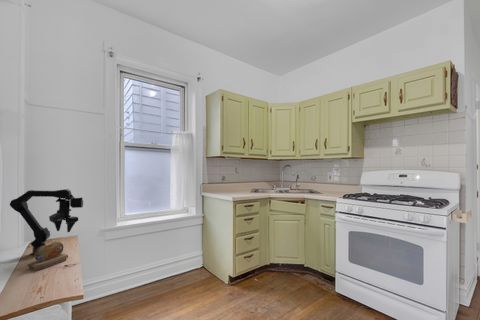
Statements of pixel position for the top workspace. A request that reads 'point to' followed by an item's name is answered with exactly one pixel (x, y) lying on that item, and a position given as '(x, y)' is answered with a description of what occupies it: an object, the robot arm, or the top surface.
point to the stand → (46, 262)
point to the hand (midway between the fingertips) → (63, 231)
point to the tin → (48, 251)
